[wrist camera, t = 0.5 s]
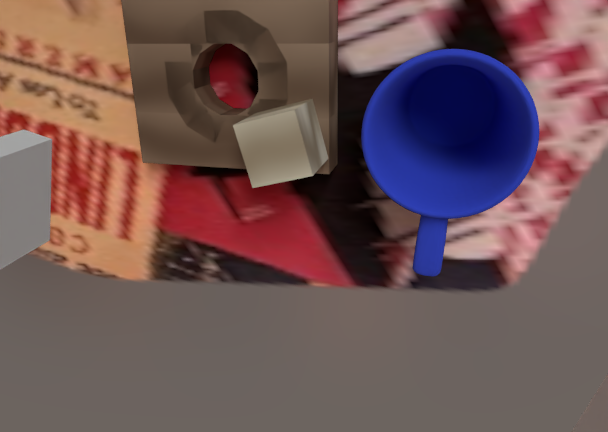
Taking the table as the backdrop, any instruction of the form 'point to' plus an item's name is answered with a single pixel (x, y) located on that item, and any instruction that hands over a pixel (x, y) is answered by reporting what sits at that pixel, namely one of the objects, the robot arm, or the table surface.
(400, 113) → the mug
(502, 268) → the table surface
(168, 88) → the deck
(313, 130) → the maple cube
